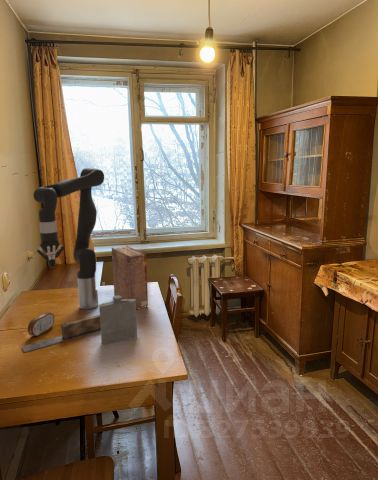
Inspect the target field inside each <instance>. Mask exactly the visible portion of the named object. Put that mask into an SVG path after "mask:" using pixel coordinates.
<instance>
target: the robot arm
mask: <svg viewBox="0 0 378 480" xmlns="http://www.w3.org/2000/svg"><path fill="white" fill-rule="evenodd" d="M104 180H105V174H104V171H103V170H102V169H100V168H94V167H84V168H83V169H82V170H81V172H80V176H79V177H73V178H68V179H64V180H61V181H58V182H55V183H53V184H47V185H43V186H40V187H37V188H36V189H35V190H34V192H33V193H32V194H33V199H34V201H36V203H40V204H43V208H40V209H39V211H38V219H39V221H38V222H39V237H40V245H39V247H38V248H36V249H35V251H36V253H38V254H39V255H40V256H41V258H43V259H44V260H47V264H48V266H49V268H54V267H55V266H56V259H57V258H59V257H60V256H61V254H62V253H63V251H64V250H65V246H63V245H62V244H61V243H60V242H59V237H58V225H57V221H56V220H57V219H56V218H57V217H56V209H57V203H58V199H59V198H63V197H67V196H68V195H70V194H73V193H76V192H78V191H79V207H78V217H77V231H76V239H75V245H74V248H73V259H74V261H75V262H76V263H78V264H79V270H78V271H77V273H76V278H77V289H78V291H77V292H78V302H79V303H78V304H79V308H80V309H81V310H91V309H95V308H97V307H99V294H98V289H97V286H96V285H97V284H96V283H97V282H96V271H97V258H96V257H97V256H96V252H95V251H94V250H93V249H92V248H90V247H89V246H90V238H91V235H92V233H93V231H94V229H95V226H96V223H97V213H98V212H97V211H98V210H97V207H96V204H95V202H94V199H93V196H92V189H93V187H98V186H99V187H100V186H101V185H102V184H103V183H104ZM43 251H44V252H45V253H46V255H45V254H44V253H43Z"/></svg>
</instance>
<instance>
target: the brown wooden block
mask: <svg viewBox="0 0 378 480" xmlns="http://www.w3.org/2000/svg"><path fill="white" fill-rule="evenodd" d="M60 327H61V336H63V338H64V339H68V338H69V337H72V336H75V335H79V334H82V333H86V332H89V331H93V330H97V329H100V328H101V327H100V314H97V315H93V316H90V317H89V316H88V317H86V318H82V319H77V320H74V321H70V322H62V323H60Z"/></svg>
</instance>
